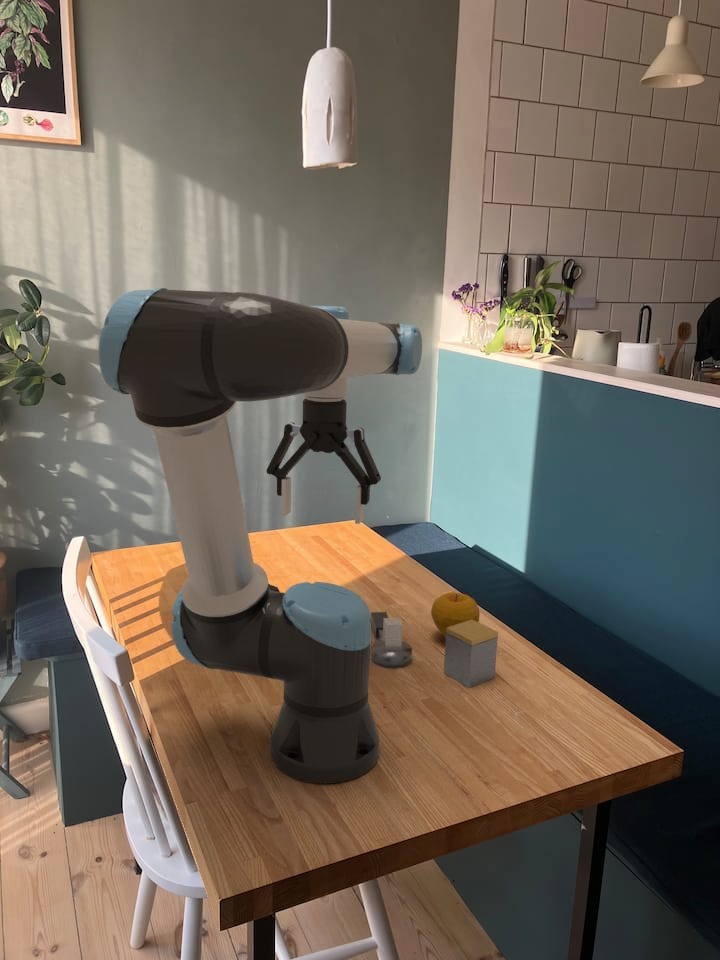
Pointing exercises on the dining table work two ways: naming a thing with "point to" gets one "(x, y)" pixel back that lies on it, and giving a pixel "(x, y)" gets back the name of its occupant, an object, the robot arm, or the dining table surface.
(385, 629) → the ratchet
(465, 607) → the apple
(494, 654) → the lidded square canister
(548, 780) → the dining table surface
